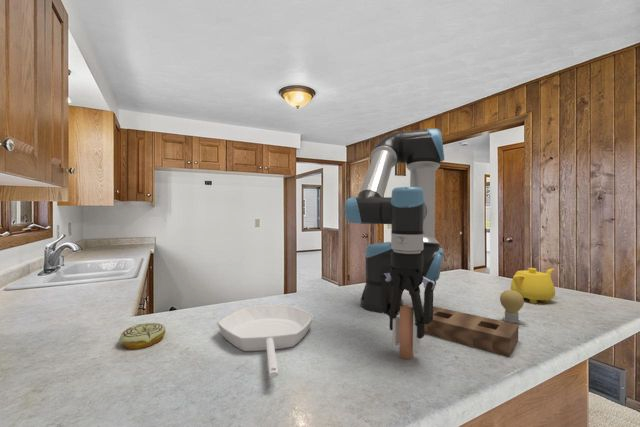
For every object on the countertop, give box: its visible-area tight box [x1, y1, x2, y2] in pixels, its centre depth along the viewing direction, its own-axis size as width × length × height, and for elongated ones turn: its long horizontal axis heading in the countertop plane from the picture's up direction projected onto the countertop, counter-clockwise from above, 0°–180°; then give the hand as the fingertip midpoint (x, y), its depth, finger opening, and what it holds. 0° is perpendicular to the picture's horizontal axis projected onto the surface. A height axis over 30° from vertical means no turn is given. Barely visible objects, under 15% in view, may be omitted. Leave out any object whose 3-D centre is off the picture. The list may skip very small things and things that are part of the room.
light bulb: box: [499, 289, 525, 324], centre depth 97 cm, size 6×6×10 cm
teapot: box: [510, 267, 556, 304], centre depth 121 cm, size 13×20×12 cm
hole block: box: [414, 305, 519, 358], centre depth 86 cm, size 24×12×4 cm, turn 49°
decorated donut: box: [118, 322, 167, 350], centre depth 83 cm, size 10×11×4 cm
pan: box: [216, 304, 315, 379], centre depth 80 cm, size 28×41×4 cm
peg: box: [399, 304, 415, 360], centre depth 74 cm, size 3×3×12 cm
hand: (406, 346), depth 74 cm, fingers open, 4 cm apart
